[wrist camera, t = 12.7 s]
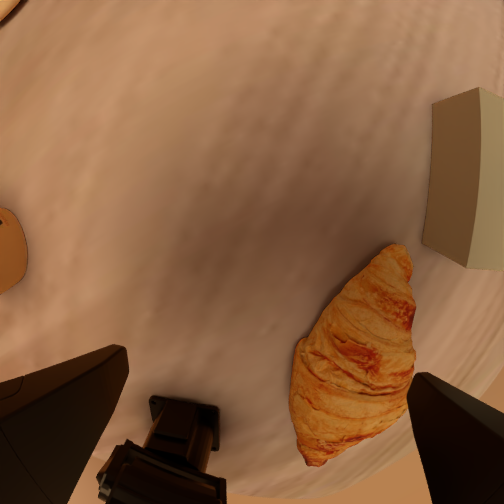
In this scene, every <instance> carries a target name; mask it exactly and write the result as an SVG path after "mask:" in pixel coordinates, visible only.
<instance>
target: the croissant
mask: <svg viewBox="0 0 504 504" xmlns="http://www.w3.org/2000/svg"><path fill="white" fill-rule="evenodd" d="M413 267H414V266H413V263H412V261H411V258H410V255H409V253H408V251H407V249H406V247H405V246H404V245H400V244H399V245H397V244H395V243H394V244H392V245H390V246H388V247H386V248H385V249H383V250H381V251H380V254H379V255H377V256H376V257H374V258H373V259H372V260H371V263H370V264H369V265H367V266H366V267H365V268H364V269H363V270H362V271H361V272H360V273H359V274H357V275H356V276H355V277H353V278H352V279H350V281H349V282H348V283H347V284H346V285H345V286H344V288H343V290H342V291H341V292H340V293H339V294H338V295H337V296H336V297H334V298H333V300H332V301H331V303H330V304H329V305H328V306H327V307H326V308H325V310H324V311H323V312H322V314H321V316H320V318H319V320H318V321H317V323H316V324H315V326H314V328H313V329H312V331H311V333H310V335H309V336H308V338H303V339H301V340H300V341H299V343H298V344H297V346H296V349H295V354H294V362H293V366H292V376H291V386H290V395H289V411H290V414H291V420H292V422H293V424H294V428H295V431H296V435H297V448H298V450H299V452H300V453H301V454H302V455H303V458H304V459H305V463H306V465H307V466H317V467H320V466H322V465H324V464H325V463H326V462H327V460H328V459H331V458H334V457H336V456H338V455H339V454H341V453H342V452H343V451H345V450H346V449H347V448H348V447H351V446H354V445H356V444H358V443H359V442H361V441H362V440H364V439H366V438H373V437H374V436H375V435H377V434H380V433H381V432H383V431H384V430H386V429H387V428H388V427H390V426H391V425H392V424H394V423H395V422H397V420H398V418H400V417H401V416H402V415H403V414H404V413H405V412H406V410H407V409H408V404H407V399H406V396H407V392H408V389H409V387H410V385H411V382H412V380H413V379H412V375H413V371H414V361H415V360H416V351H415V350H414V349H413V346H412V339H411V334H412V333H411V327H412V323H413V318H414V314H415V310H416V304H415V301H414V299H413V297H412V288H411V286H410V285H409V284H408V282H409V280H410V278H411V276H412V270H413Z"/></svg>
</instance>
